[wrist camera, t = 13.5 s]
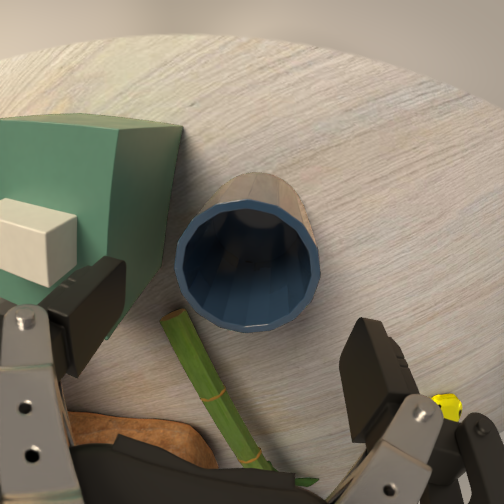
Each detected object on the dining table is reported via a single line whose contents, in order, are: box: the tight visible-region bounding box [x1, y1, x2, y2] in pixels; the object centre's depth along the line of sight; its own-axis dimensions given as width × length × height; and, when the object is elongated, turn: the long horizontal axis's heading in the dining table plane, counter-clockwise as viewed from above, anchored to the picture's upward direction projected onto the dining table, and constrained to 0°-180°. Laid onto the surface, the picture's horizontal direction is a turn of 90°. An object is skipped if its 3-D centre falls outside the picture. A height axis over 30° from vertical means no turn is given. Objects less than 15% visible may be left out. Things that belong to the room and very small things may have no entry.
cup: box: [174, 172, 321, 333], centre depth 17 cm, size 6×6×8 cm
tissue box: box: [0, 113, 183, 340], centre depth 16 cm, size 10×8×11 cm
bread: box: [67, 411, 219, 469], centre depth 26 cm, size 12×28×14 cm, turn 102°
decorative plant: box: [160, 308, 319, 487], centre depth 27 cm, size 6×8×30 cm
